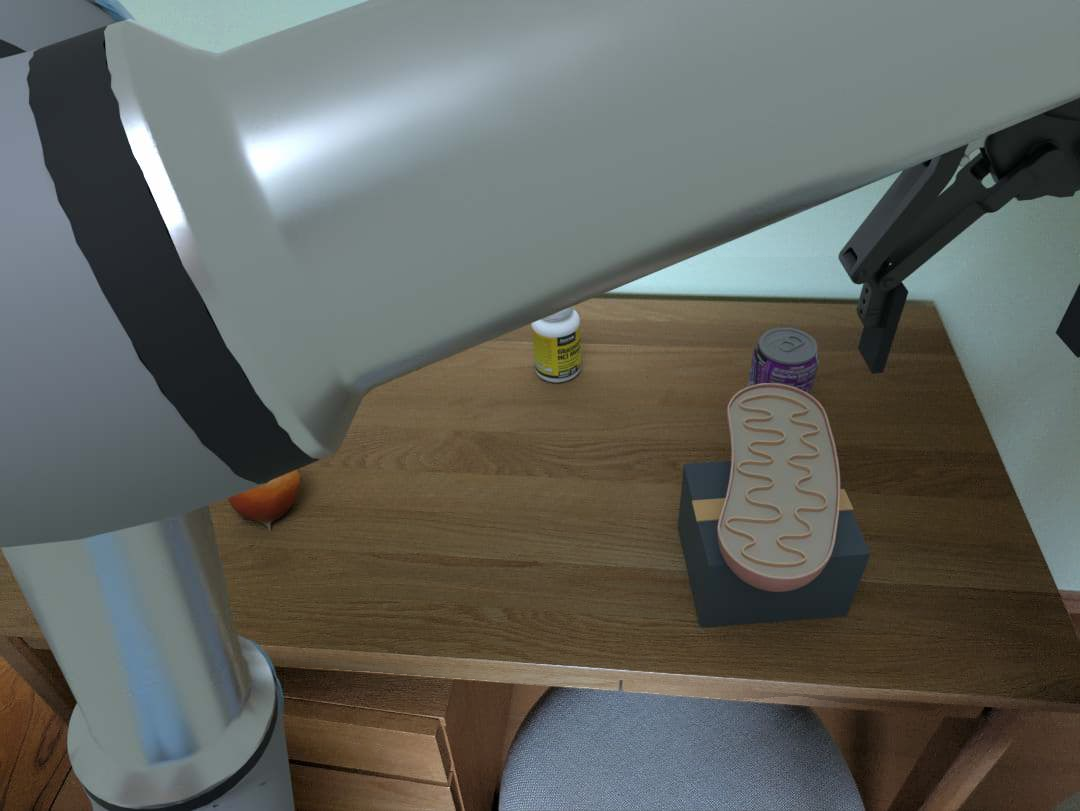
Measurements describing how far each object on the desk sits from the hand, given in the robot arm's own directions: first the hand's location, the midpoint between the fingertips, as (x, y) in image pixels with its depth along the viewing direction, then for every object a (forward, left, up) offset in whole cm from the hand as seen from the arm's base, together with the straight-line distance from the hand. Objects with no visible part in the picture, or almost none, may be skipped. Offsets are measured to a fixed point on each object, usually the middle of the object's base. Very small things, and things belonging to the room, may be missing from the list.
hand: (970, 353), depth 53 cm
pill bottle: (-27, +39, -32) cm, 57 cm away
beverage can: (-2, +26, -32) cm, 41 cm away
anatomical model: (-9, +5, -22) cm, 24 cm away
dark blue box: (-9, +6, -32) cm, 33 cm away
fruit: (-61, +19, -32) cm, 71 cm away
